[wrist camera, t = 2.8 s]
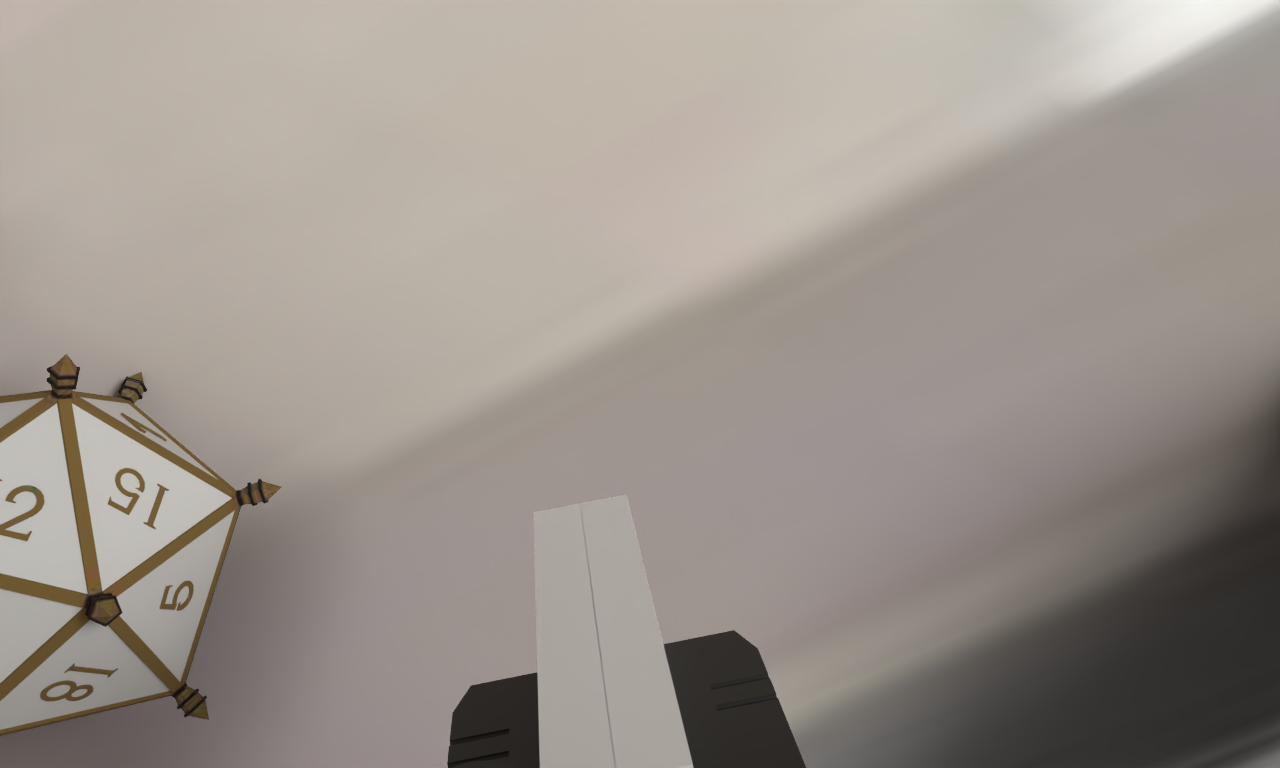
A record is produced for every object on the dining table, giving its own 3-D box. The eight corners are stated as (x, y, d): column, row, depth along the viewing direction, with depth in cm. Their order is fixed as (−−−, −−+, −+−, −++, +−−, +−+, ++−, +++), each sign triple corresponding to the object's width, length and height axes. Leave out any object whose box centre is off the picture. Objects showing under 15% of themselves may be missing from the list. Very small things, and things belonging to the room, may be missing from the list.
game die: (183, 497, 30) (15, 864, 24) (-115, 327, 25) (-429, 740, 18) (392, 416, 25) (250, 847, 19) (77, 185, 20) (-256, 675, 14)
